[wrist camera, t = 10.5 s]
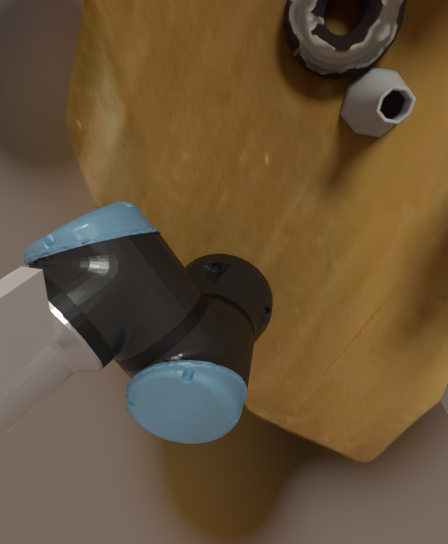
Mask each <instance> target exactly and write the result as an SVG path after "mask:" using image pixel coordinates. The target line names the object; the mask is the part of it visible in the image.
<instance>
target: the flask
mask: <svg viewBox="0 0 448 544" xmlns="http://www.w3.org/2000/svg"><path fill="white" fill-rule="evenodd" d="M415 101H416V98H415V96H414V95H413V94H412V91H411V89H410V88H409V87H408V85H407V84H406V83H405V81H404V80H403V79H402V77H401V76H400V75H399V73H398V72H397V71H396V70H391V69H385V68H379V67H372V66H371V67H370V68H368V69H367V70H365V71H364V72H363V73H362V74H360V75H359V76H358V77H357V78H356V79H355V80H354V81H353V82H352V83H351V84H350V85H349V86H348V87H347V90H346V94H345V97H344V101H343V105H342V108H341V112H340V115H341V116H342V118H343V119H344V120H345V121H346V123H347V124H348V125H349V126H350V127H351V129H352V130H353V131H354V132H355V133H356V134H362V135H367V136H373V137H379V138H380V137H381V136H383V135H384V134H385V133H386V132H387V131H389V130H390V129H391V128H392V127H393V126H395V125H399V124H400V123H401V122H402V121H403V120H405V119H406V118H407V117H408V116H409V115H411V113H412V110H413V107H414V104H415Z"/></svg>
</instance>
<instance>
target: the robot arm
mask: <svg viewBox="0 0 448 544" xmlns="http://www.w3.org/2000/svg"><path fill="white" fill-rule="evenodd" d="M23 257H24V262H25V263H26V264H27V265H29V267H22V266H21V267H19V268H18V269H16V270H15V271H13V272H12V273H10V274H8V275H7V276H5V277H3V278H2V279H0V439H1V438H2V437H3V436H4V435H5V434H7V433H8V432H9V431H10V430H11V429H12V428H13V427H15V426H16V425H17V424H18V423H19V422H20V421H21V420H22V419H23V418H25V417H26V416H27V415H28V414H29V413H30V412H31V411H32V410H33V409H34V408H36V407H37V406H38V405H39V404H40V403H41V402H42V401H43V400H44V399H46V398H47V397H48V396H49V395H50V394H51V393H52V392H53V391H54V390H56V388H58V387H59V386H60V385H61V384H62V383H63V382H64V381H66V380H67V379H68V378H69V377H70V376H71V375H72V374H73V373H76V372H81V371H82V372H83V371H100V370H101V369H103V368H104V367H105V366H106V365H107V364H108V363H109V362H110V361H111V360H112V359H114V360H115V361H116V362H117V363H118V364H119V365H120V367H121V368H122V369H123V370H124V371H125V372H126V373H127V374H128V376H129V377H130V378H131V380H130V381H129V383H128V386H127V390H126V392H127V393H126V398H127V402H126V405H127V409H128V411H129V413H130V414H131V416H132V418H133V419H134V420H135V421H136V422H137V423H138V424H139V425H140V426H141V427H142V428H144V429H145V430H146V431H148V432H149V433H151V434H153V435H155V436H157V437H160V438H163V439H166V440H169V441H176V442H180V443H187V444H195V443H204V442H209V441H212V440H215V439H218V438H220V437H222V436H223V435H225V434H226V433H228V432H229V431H230V430H231V429H232V428H233V427H234V426H235V425H236V423H237V422H238V420H239V417H240V415H241V411H242V407H243V403H244V402H245V399H246V397H247V393H248V389H247V388H248V381H249V374H250V367H251V360H252V354H253V347H254V343H255V342H256V340H257V339H258V338H259V337H260V336H261V334H262V333H263V332H264V331H265V329H266V327H267V325H268V323H269V321H270V318H271V313H272V304H273V299H272V293H271V289H270V286H269V284H268V282H267V280H266V279H265V277H264V276H263V275H262V273H261V272H260V271H259V270H258V269H257V268H256V267H254V266H253V265H252V264H250V263H249V262H247V261H245V260H243V259H241V258H238V257H236V256H232V255H227V254H211V255H206V256H203V257H200V258H198V259H196V260H194V261H192V262H191V263H189V264H188V265H187V266H186V267H185V268H184V266H183V265H182V263H181V262H180V261H179V259H178V258H177V257H176V255H175V254H174V253H173V251H172V250H171V248H170V247H169V246H168V244H167V243H166V242H165V240H164V239H163V238H162V236H161V235H160V231H159V230H158V229H157V228H154V227H153V225H152V224H151V223H150V222H149V220H148V219H147V218H146V217H145V216H144V214H143V213H142V212H141V211H140V210H139V208H138V207H136V206H135V205H134V204H132V203H129V202H116V203H112V204H109V205H106V206H103V207H101V208H99V209H96V210H94V211H92V212H89V213H87V214H85V215H83V216H81V217H79V218H77V219H75V220H73V221H71V222H69V223H67V224H65V225H63V226H61V227H60V228H58V229H56V230H54V231H53V232H52V233H51V234H48V235H47V236H45V237H43V238H41V239H39V240H37V241H35V242H34V243H32V244H31V245H30V246H28V247H27V248H26V249H25V250H24V252H23ZM441 402H442V404H443V406H444V408H445V410H446V413H447V414H448V384H447V387H446V389H445V391H444V394H443V396H442V398H441Z"/></svg>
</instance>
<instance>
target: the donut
mask: <svg viewBox="0 0 448 544" xmlns="http://www.w3.org/2000/svg"><path fill="white" fill-rule="evenodd" d="M406 1H407V0H360V2H361V4H362V16H361V19H360V22H359V24H358V25H357V27H356V28H355V29H354V30H353V31H352V32H350V33H348V34H346V35H341V36H340V35H335V34H333V33H331V32H330V31H329V30H328V29H327V27H326V25H325V21H324V11H325V8H326V5H327V4H328V2H329V0H287V2H286V5H285V20H284V27H285V32H286V38H287V43H288V45H289V47H290V49H291V51H292V53H293V55H294V57H295V59H296V60H297V61H298V62H299V63H300V64H301V65H302V66H303V67H304V68H305V69H306V70H307V71H309V72H311V73H313V74H315V75H317V76H319V77H322V78H329V79H342V78H348V77H352V76H354V75H357V74H359V73H361V72H363V71H365V70H367V69H368V68H370V67H371V66H372V65H373V64H375V63H376V62H377V61H378V60H379V59H381V58H382V57H383V55H384V54H385V53H386V51H387V50H388V49H389V47H390V46H391V45H392V43H393V42H394V40H395V38H396V36H397V33H398V31H399V29H400V26H401V24H402V22H403V17H404V12H405V7H406Z"/></svg>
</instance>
